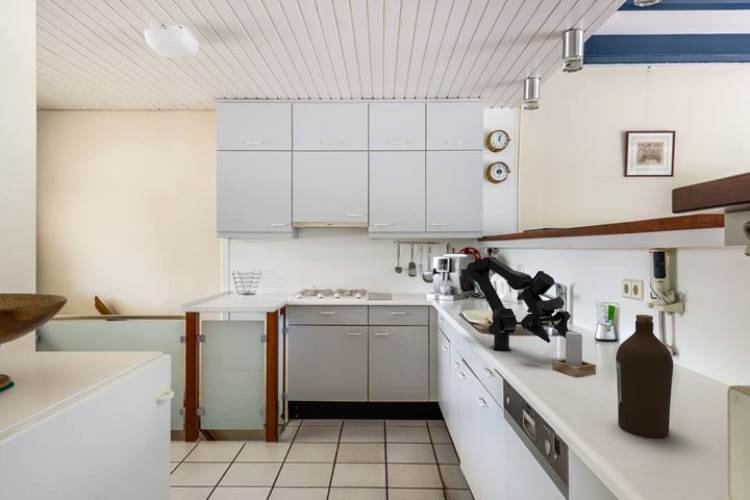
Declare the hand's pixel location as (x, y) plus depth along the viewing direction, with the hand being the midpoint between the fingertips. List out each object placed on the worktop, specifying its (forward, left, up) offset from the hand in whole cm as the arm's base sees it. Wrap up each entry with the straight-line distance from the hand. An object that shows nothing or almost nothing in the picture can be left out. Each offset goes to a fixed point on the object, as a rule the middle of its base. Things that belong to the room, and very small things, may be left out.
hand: (559, 340), depth 141 cm
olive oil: (+48, +5, -9) cm, 49 cm away
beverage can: (+5, +3, -9) cm, 10 cm away
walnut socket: (+5, +3, -9) cm, 10 cm away
